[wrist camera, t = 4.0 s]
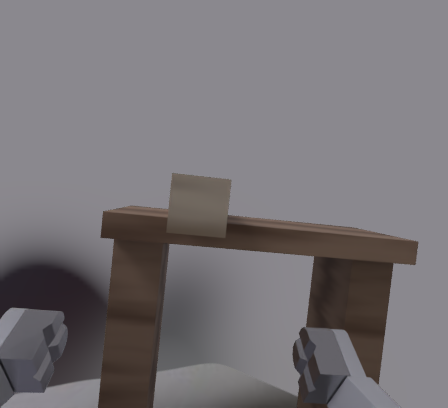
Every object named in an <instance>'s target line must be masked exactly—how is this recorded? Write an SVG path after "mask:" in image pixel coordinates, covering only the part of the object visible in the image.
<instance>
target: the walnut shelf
mask: <svg viewBox="0 0 448 408" xmlns="http://www.w3.org/2000/svg"><path fill="white" fill-rule="evenodd" d="M168 210H169V209H160V208H150V207H139V206H128V207H123V208H119V209H113V210H108V211H103V218H102V229H101V238H110V239H114V247H113V257H112V268H111V278H110V289H109V299H108V310H107V320H106V331H105V341H104V351H103V362H102V372H101V382H100V393H99V403H98V408H153V401H154V391H155V381H156V371H157V361H158V351H159V341H160V330H161V322H162V311H163V302H164V291H165V282H166V272H167V262H168V252H169V244H180V245H192V246H202V247H214V248H215V247H216V248H226V249H237V250H250V251H260V252H272V253H283V254H295V255H306V256H314V263H313V272H312V280H311V281H312V282H311V290H310V298H309V307H308V315H307V324H306V327H309V328H329V329H342V330H345V331H346V332H347V333H348V336H349V338H350V340H351V342H352V345H353V347H354V349H355V352H356V354H357V356H358V358H359V361H360V363H361V365H362V368H363V370H364V372H365V374H366V377H369V378H372V379H373V380H374V381H375V382H376V383H377V384H379V375H380V368H381V360H382V352H383V343H384V335H385V327H386V319H387V311H388V303H389V294H390V287H391V279H392V271H393V263H399V264H410V265H415V264H416V255H417V248H418V242H416V241H412V240H408V239H403V238H398V237H394V236H390V235H385V234H380V233H375V232H371V231H367V230H362V229H358V228H352V227H341V226H332V225H321V224H311V223H301V222H291V221H281V220H271V219H261V218H250V217H240V216H231V215H228V217H227V227H226V236H225V238H220V237H209V236H198V235H187V234H176V233H166V230H167V220H168ZM327 405H328V404H317V403H303V400H302V396H301V392H300V388H299V393H298V402H297V408H328V407H327Z"/></svg>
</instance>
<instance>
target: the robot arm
mask: <svg viewBox="0 0 448 408" xmlns="http://www.w3.org/2000/svg"><path fill="white" fill-rule="evenodd" d="M63 320H64V315H63V312H59V311H46V310H33V309H22V308H11V309H9V310H8V311H7V312H6V313H5V314H4V315H3V317H2V318H1V320H0V407H1V406H2V405H3V404H5V403H6V402H7V401H8V400H9V399H10V398H11V397H12V396H13V395H14V392H29V393H44V392H45V389H46V387H47V385H48V383H49V381H50V379H51V377H52V374H53V372H54V367H53V362H54V361H56V360H57V359H58V358H59V357H60V356H61V355H62V352H63V350H64V348H65V344H66V340H67V327H66V326H65V325H64V324H63V323H62V322H63ZM299 335H300V338H299V339H297V340H296V341H295V343H294V346H293V362H294V366H295V369H296V370H297V371H298V372H299V373H300V375H301V376H300V378H299V381H298V383H299V388H300V392H301V396H302V400H303V403H317V404H328V405H327V407H328V408H401V407H400V406H399V405H398V404H397V403H396V402H395V401H394V400H393V399H392V398H391V397H390V396H389V395H388V394H387V393H386V392H385V391H384V390H383V389H382V388H381V387H380V386H379V385H378V384H377V383H376V382H375V381H374V380H373V379H372V378H369V377H366V374H365V372H364V370H363V368H362V365H361V363H360V361H359V358H358V356H357V354H356V352H355V349H354V347H353V345H352V342H351V340H350V338H349V336H348V333H347V332H346V331H345V330H342V329H329V328H309V327H303V328H302V329H301V330H300V332H299Z"/></svg>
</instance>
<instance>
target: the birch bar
mask: <svg viewBox="0 0 448 408" xmlns="http://www.w3.org/2000/svg"><path fill="white" fill-rule="evenodd" d="M230 189H231V180H229V179H220V178H211V177H203V176H194V175H185V174H176V173H172V181H171V190H170V200H169V210H168V220H167V230H166V233H176V234H187V235H198V236H209V237H220V238H225V236H226V227H227V217H228V207H229V198H230Z"/></svg>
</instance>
